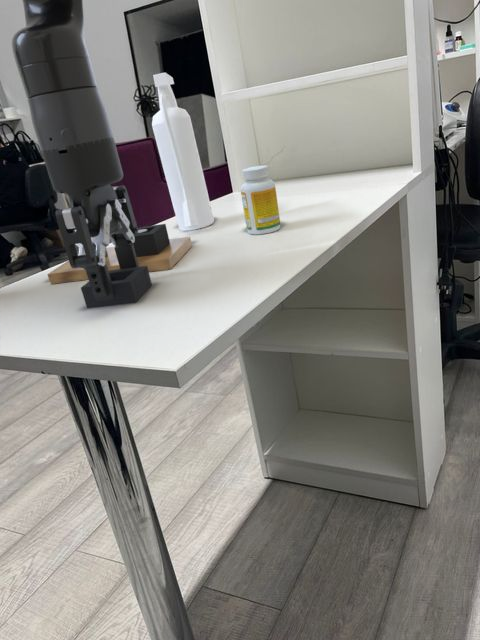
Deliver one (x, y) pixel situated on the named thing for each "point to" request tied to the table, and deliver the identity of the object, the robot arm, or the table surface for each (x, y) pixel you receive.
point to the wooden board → (153, 263)
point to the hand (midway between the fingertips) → (119, 286)
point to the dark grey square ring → (121, 287)
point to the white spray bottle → (180, 159)
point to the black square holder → (151, 240)
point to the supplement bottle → (259, 201)
